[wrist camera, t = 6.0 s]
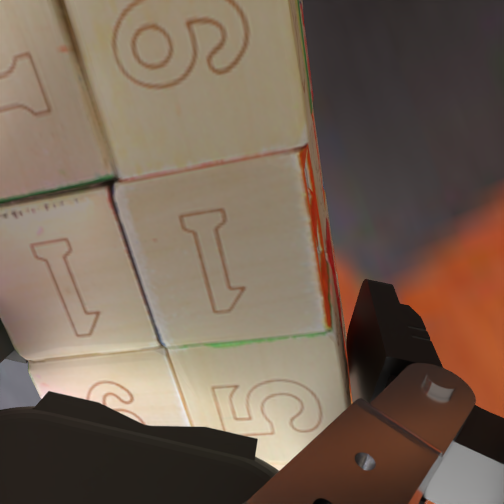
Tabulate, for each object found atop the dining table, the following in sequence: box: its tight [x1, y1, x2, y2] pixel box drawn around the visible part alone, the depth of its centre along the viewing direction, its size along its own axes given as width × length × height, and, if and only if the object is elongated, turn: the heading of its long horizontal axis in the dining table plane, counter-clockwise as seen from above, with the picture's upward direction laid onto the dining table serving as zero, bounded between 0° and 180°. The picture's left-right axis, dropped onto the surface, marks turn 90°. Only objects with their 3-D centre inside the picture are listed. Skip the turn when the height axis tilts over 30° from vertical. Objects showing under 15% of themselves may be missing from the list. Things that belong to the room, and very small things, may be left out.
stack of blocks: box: [0, 0, 352, 471], centre depth 14 cm, size 21×6×12 cm, turn 11°
